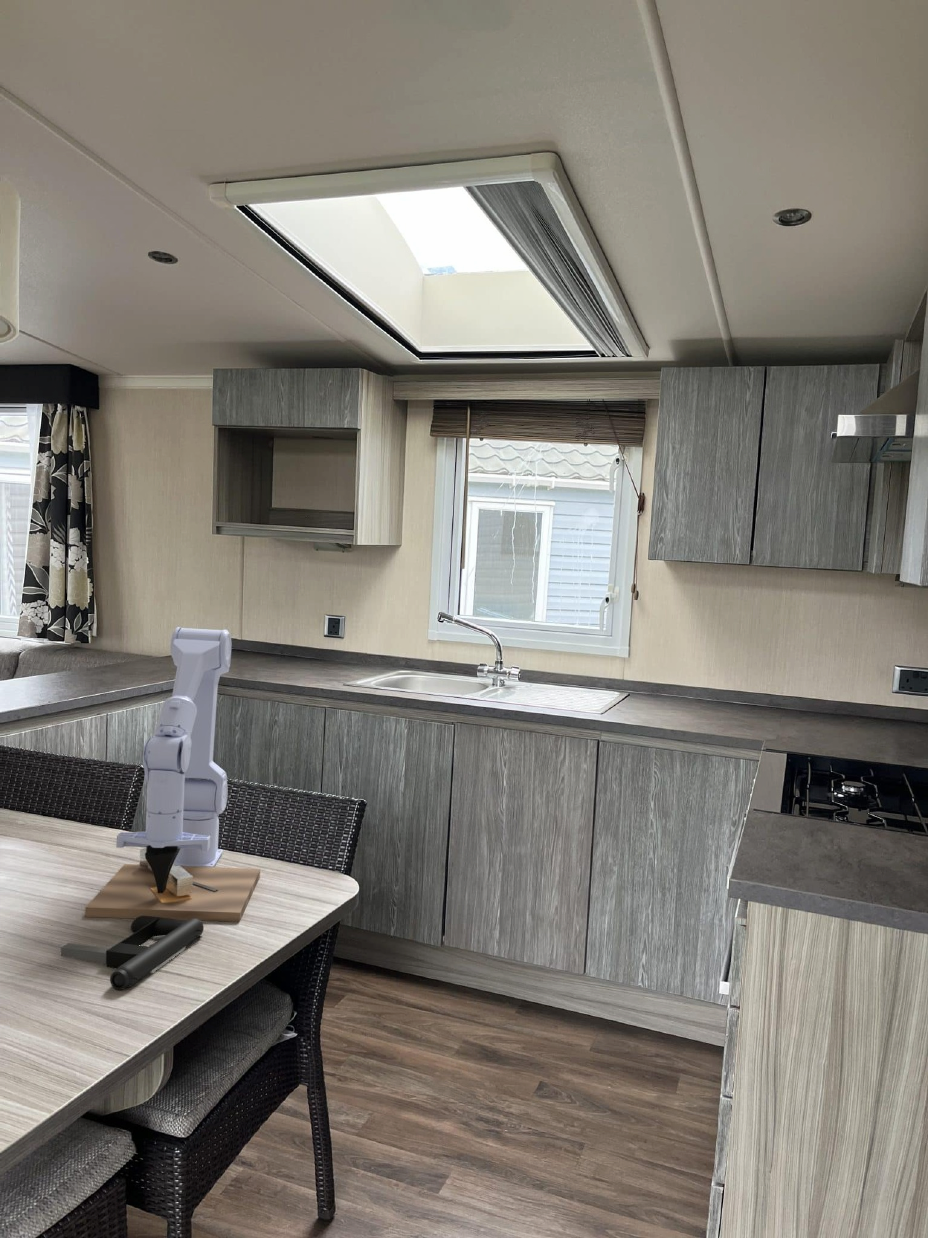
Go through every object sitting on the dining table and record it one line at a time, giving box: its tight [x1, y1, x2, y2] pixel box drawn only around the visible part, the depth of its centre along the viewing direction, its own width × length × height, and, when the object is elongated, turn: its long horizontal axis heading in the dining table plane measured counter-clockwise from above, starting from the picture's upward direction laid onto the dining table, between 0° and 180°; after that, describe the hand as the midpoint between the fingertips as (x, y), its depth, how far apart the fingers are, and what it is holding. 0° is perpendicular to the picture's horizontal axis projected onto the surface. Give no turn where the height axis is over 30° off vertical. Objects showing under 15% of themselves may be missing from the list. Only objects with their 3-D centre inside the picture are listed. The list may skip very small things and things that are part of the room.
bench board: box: [84, 863, 261, 923], centre depth 154 cm, size 20×24×2 cm
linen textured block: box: [138, 847, 193, 897], centre depth 156 cm, size 18×4×4 cm, turn 38°
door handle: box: [60, 916, 205, 991], centre depth 132 cm, size 3×20×16 cm
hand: (161, 891), depth 149 cm, fingers closed
